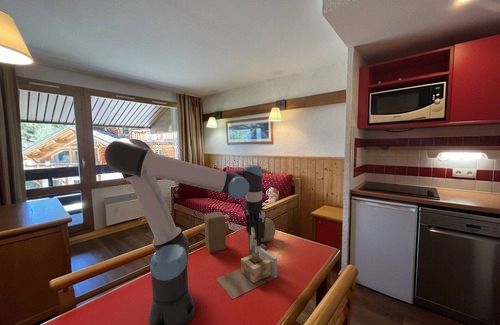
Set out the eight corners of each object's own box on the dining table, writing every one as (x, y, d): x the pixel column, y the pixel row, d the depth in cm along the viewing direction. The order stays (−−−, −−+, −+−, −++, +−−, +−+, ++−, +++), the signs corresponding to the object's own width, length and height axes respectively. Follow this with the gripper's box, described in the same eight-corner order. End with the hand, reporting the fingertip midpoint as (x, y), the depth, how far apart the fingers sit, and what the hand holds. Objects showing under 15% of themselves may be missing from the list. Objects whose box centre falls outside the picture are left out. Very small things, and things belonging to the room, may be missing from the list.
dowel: (254, 263, 92) (254, 229, 91) (250, 260, 95) (249, 226, 93) (260, 261, 94) (259, 227, 92) (256, 258, 96) (255, 225, 95)
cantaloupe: (264, 249, 117) (263, 223, 116) (247, 240, 128) (246, 217, 127) (280, 240, 127) (280, 217, 126) (263, 233, 138) (263, 211, 137)
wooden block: (263, 251, 115) (262, 220, 114) (267, 255, 111) (266, 223, 109) (248, 254, 112) (247, 222, 110) (251, 259, 108) (250, 225, 106)
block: (205, 246, 123) (203, 213, 121) (221, 242, 127) (220, 210, 125) (209, 253, 114) (207, 218, 112) (226, 249, 118) (225, 215, 116)
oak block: (253, 283, 88) (253, 269, 87) (241, 271, 96) (240, 258, 96) (271, 274, 94) (271, 261, 93) (258, 264, 102) (258, 252, 101)
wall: (274, 278, 92) (274, 259, 91) (254, 262, 104) (254, 245, 103) (276, 277, 93) (276, 258, 92) (257, 261, 105) (256, 244, 104)
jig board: (232, 299, 80) (232, 299, 80) (215, 279, 92) (215, 278, 92) (278, 276, 93) (278, 275, 93) (258, 261, 106) (258, 260, 106)
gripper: (272, 202, 87) (273, 255, 89) (250, 195, 100) (251, 241, 102) (258, 205, 83) (259, 261, 85) (237, 197, 96) (239, 245, 98)
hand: (255, 250), depth 94 cm, fingers closed on dowel, 3 cm apart
